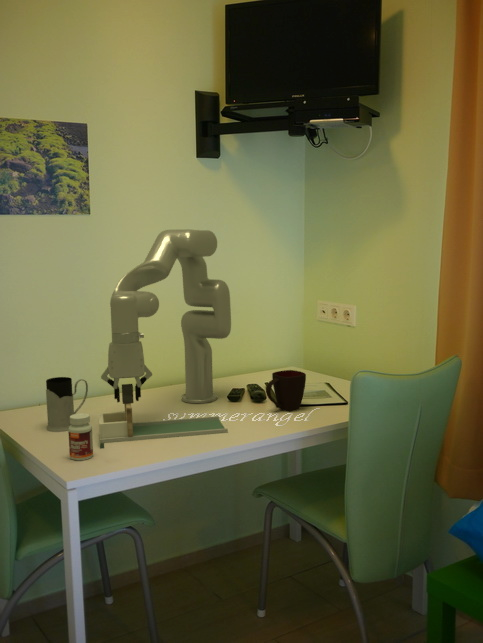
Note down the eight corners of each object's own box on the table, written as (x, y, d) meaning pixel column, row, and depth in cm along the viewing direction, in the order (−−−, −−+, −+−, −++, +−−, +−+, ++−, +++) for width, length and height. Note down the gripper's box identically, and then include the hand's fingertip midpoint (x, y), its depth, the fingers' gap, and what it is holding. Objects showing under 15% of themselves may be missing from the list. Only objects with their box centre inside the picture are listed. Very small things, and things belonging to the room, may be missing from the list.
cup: (310, 409, 219) (310, 374, 217) (277, 416, 211) (276, 380, 209) (291, 403, 227) (291, 369, 225) (258, 410, 219) (258, 374, 217)
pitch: (99, 433, 196) (98, 412, 196) (218, 423, 204) (218, 403, 203) (100, 448, 183) (99, 425, 182) (227, 437, 191) (227, 415, 190)
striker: (122, 424, 198) (120, 380, 196) (132, 424, 198) (131, 379, 196) (125, 439, 184) (123, 391, 182) (136, 438, 185) (134, 390, 183)
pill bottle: (69, 461, 173) (66, 419, 171) (70, 453, 179) (68, 413, 177) (93, 459, 174) (91, 418, 173) (93, 452, 180) (91, 411, 179)
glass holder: (41, 427, 203) (38, 380, 200) (81, 417, 213) (79, 372, 211) (56, 433, 197) (53, 384, 194) (96, 423, 207) (94, 376, 205)
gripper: (154, 334, 193) (156, 395, 195) (94, 337, 189) (97, 399, 192) (156, 338, 186) (158, 401, 188) (94, 341, 182) (97, 406, 184)
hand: (127, 400), depth 190 cm, fingers open, 4 cm apart
